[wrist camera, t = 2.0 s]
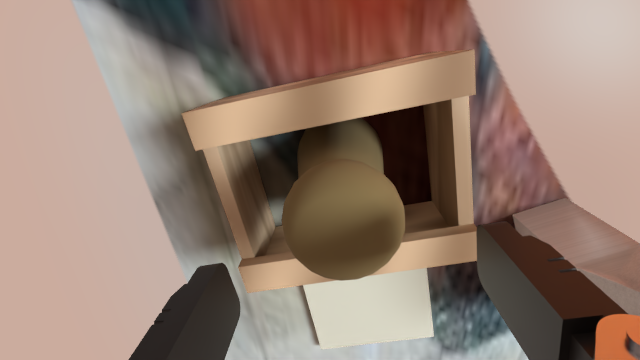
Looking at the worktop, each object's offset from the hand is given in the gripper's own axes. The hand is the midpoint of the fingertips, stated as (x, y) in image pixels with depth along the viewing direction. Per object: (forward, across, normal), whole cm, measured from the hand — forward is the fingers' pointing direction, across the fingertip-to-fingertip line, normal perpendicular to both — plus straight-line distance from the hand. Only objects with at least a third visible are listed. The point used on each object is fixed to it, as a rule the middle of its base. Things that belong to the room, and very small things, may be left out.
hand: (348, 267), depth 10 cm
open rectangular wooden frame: (+13, 0, 0) cm, 13 cm away
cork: (+13, 0, 0) cm, 13 cm away
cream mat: (+13, 0, +13) cm, 18 cm away
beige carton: (+13, -14, +10) cm, 22 cm away
